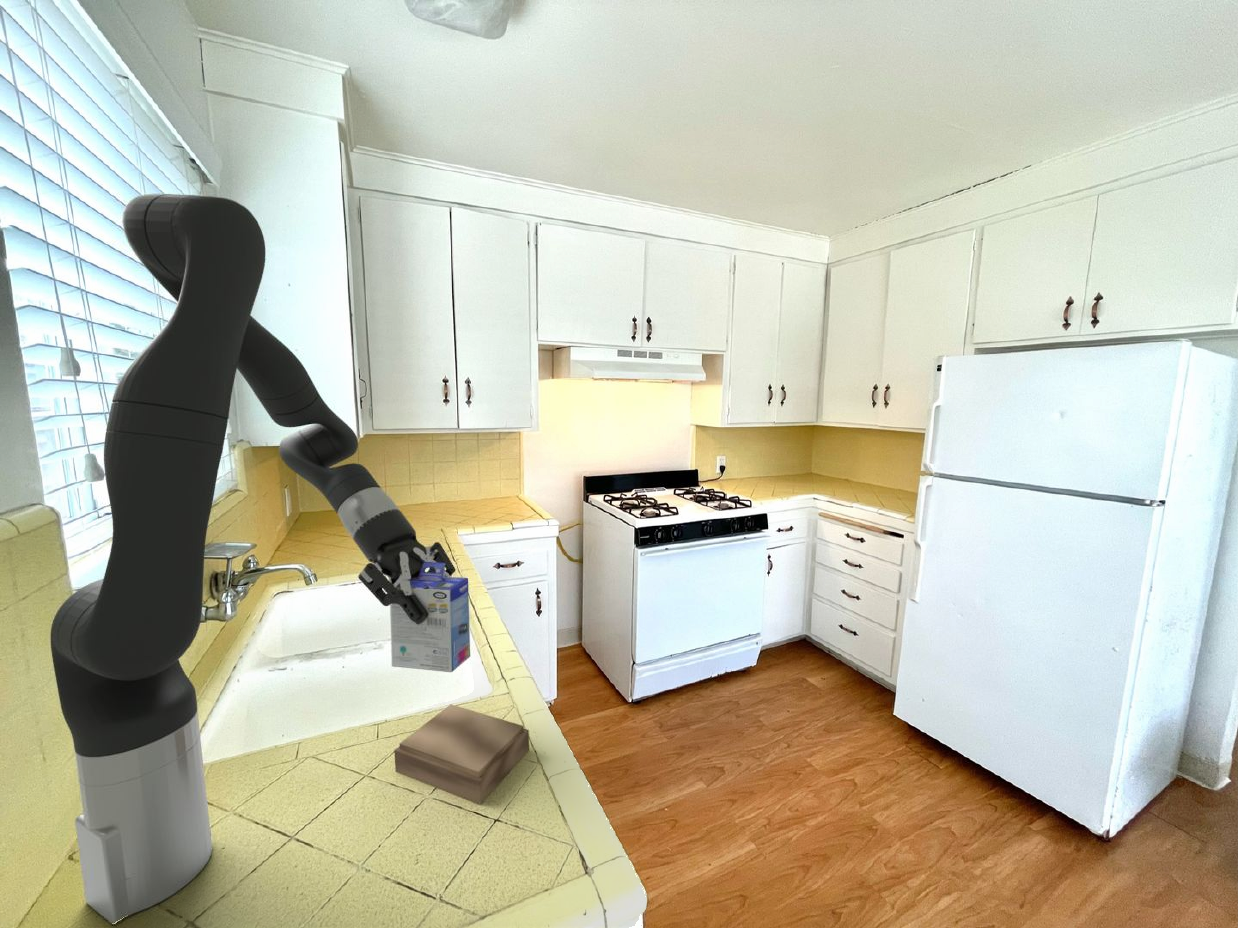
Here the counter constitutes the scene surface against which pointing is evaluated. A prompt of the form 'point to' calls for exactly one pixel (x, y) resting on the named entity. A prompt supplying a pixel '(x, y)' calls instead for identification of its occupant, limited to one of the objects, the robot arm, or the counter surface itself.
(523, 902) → the counter surface
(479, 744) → the walnut stand
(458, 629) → the ink cartridge box
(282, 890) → the counter surface
